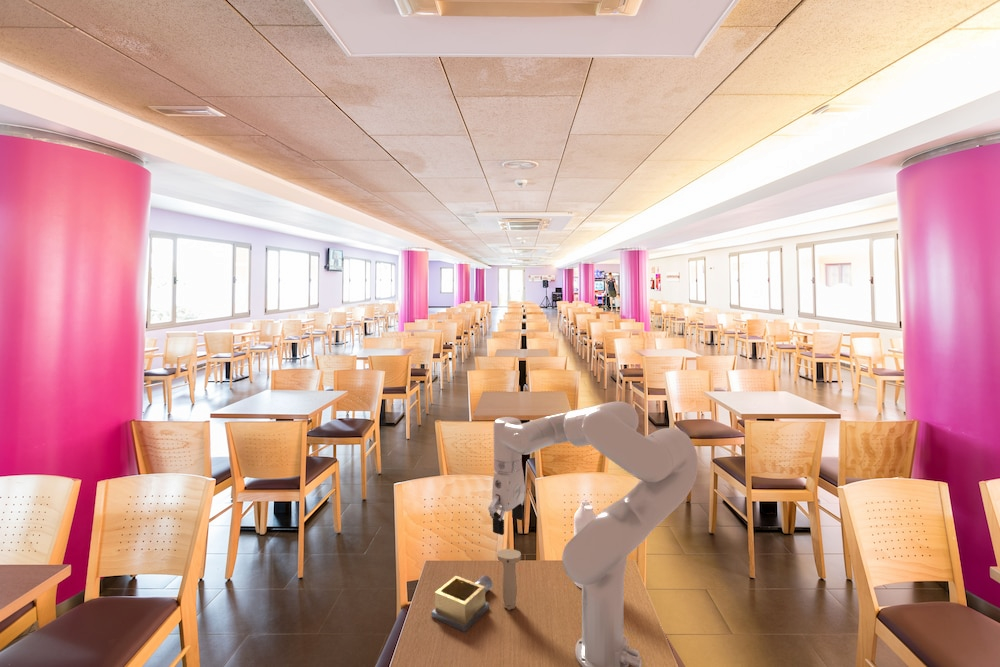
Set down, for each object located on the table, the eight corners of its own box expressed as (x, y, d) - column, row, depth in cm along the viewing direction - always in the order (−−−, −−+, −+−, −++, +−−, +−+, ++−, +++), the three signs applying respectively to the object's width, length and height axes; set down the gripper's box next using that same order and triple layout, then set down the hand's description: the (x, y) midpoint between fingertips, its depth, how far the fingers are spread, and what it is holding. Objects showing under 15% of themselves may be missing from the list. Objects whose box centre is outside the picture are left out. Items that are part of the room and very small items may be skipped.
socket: (502, 594, 135) (502, 572, 134) (464, 632, 120) (464, 607, 119) (471, 582, 141) (471, 561, 140) (431, 617, 126) (431, 593, 125)
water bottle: (572, 577, 143) (571, 496, 141) (593, 576, 143) (593, 495, 141) (578, 595, 134) (578, 509, 132) (600, 594, 134) (600, 508, 133)
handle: (520, 613, 126) (519, 559, 125) (496, 611, 127) (495, 557, 126) (522, 602, 131) (521, 550, 130) (499, 600, 132) (498, 548, 131)
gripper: (502, 477, 117) (502, 543, 119) (535, 457, 132) (535, 516, 133) (477, 471, 121) (478, 535, 123) (512, 452, 136) (512, 510, 137)
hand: (508, 525), depth 128 cm, fingers open, 9 cm apart
